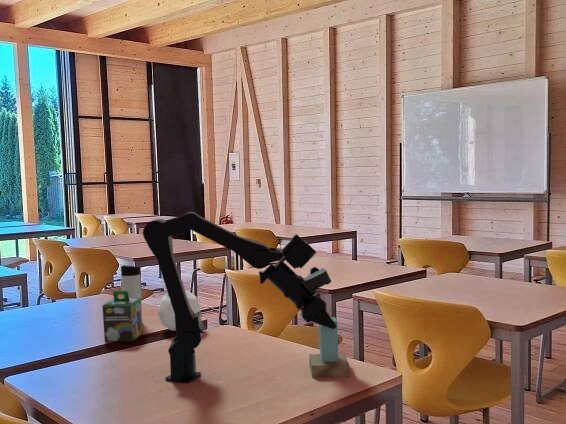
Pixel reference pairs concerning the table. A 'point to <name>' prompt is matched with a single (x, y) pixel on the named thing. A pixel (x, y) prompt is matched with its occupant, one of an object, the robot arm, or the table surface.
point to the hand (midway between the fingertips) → (333, 324)
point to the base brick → (328, 367)
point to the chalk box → (122, 318)
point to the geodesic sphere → (168, 313)
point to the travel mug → (131, 281)
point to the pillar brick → (328, 343)
